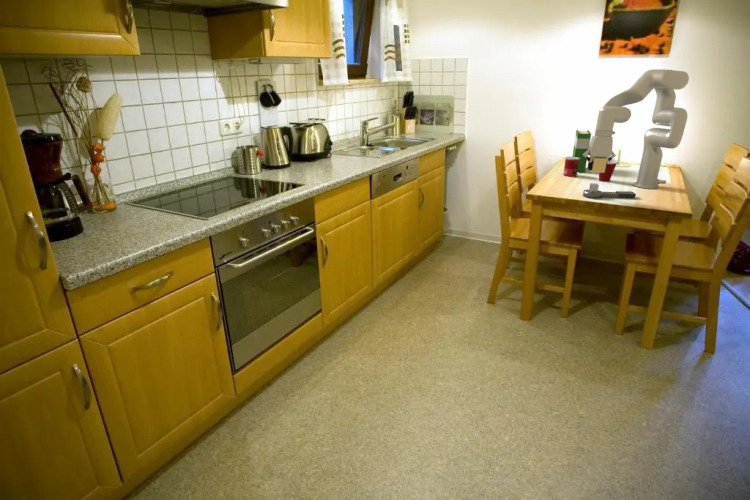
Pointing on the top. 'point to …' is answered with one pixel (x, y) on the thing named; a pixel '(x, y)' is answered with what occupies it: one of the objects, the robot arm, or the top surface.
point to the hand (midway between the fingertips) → (596, 169)
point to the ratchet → (606, 193)
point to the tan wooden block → (599, 164)
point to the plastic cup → (608, 171)
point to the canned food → (571, 166)
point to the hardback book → (581, 148)
